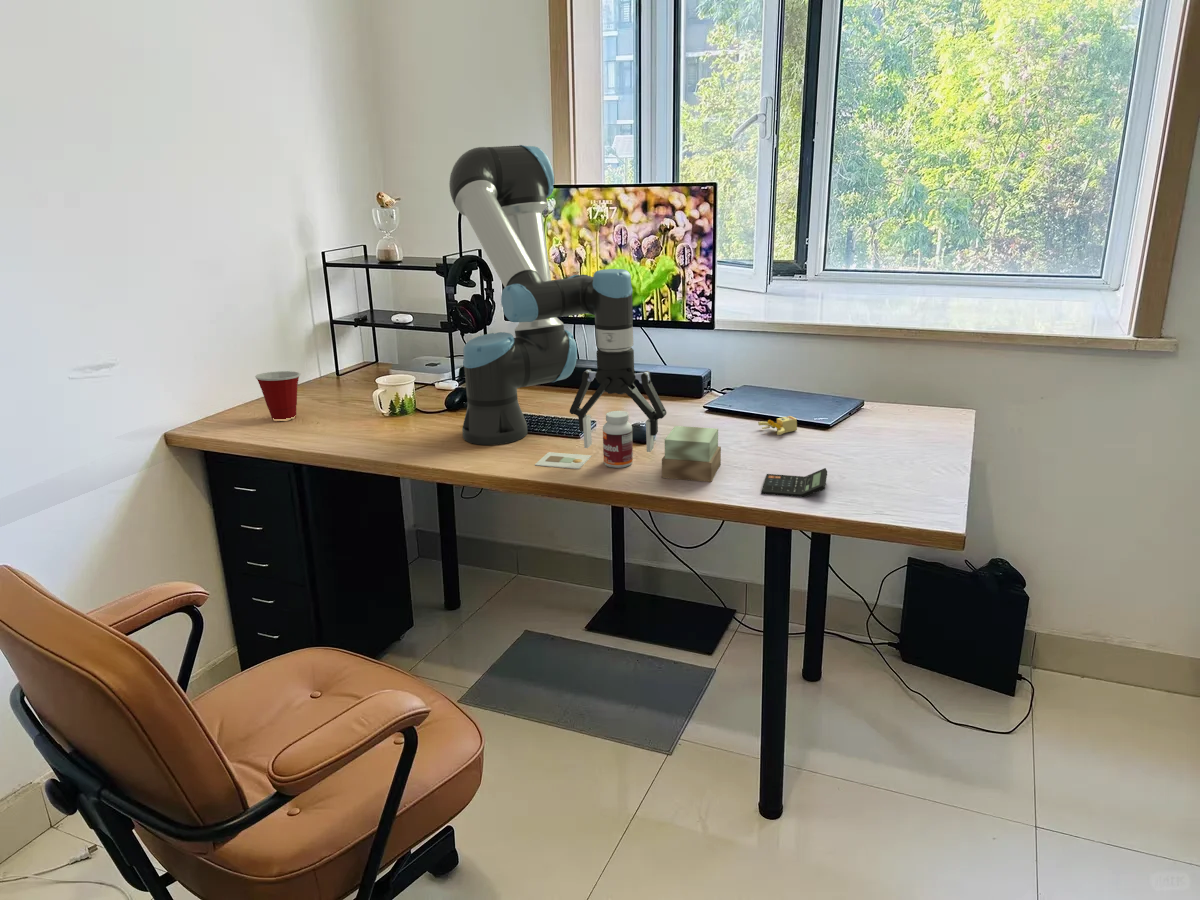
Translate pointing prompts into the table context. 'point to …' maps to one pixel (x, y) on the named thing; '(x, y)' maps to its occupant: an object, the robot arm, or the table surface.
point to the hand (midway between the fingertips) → (618, 448)
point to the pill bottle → (617, 440)
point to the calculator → (794, 484)
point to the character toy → (782, 424)
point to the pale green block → (691, 454)
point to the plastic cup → (280, 392)
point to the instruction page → (563, 460)
